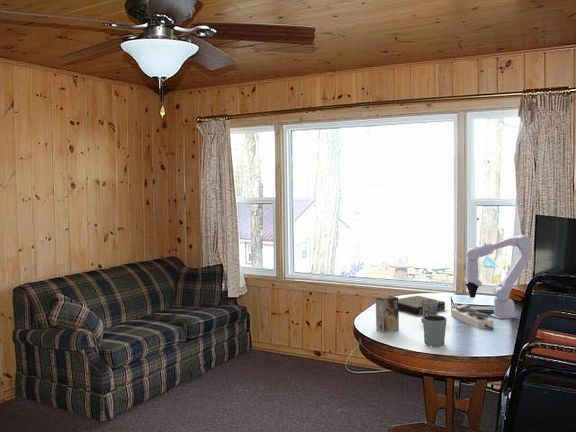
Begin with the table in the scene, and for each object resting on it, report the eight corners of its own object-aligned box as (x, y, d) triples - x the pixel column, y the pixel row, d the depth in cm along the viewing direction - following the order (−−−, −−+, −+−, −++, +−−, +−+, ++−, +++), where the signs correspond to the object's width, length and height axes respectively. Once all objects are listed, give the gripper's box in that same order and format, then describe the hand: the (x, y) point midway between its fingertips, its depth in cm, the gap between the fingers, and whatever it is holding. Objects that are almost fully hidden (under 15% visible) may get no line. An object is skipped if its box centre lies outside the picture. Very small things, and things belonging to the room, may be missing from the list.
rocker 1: (466, 306, 298) (465, 303, 298) (470, 307, 294) (469, 305, 294) (455, 309, 297) (455, 306, 296) (459, 311, 293) (459, 308, 292)
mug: (438, 324, 283) (437, 303, 282) (419, 323, 287) (418, 302, 286) (441, 318, 294) (441, 298, 293) (422, 317, 298) (422, 297, 297)
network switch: (421, 317, 299) (421, 307, 299) (387, 309, 318) (387, 300, 317) (448, 309, 314) (448, 300, 314) (414, 302, 332) (414, 294, 332)
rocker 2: (474, 312, 290) (475, 309, 290) (478, 314, 286) (479, 311, 286) (464, 309, 289) (465, 307, 289) (468, 311, 285) (469, 308, 285)
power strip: (465, 314, 301) (465, 307, 301) (499, 330, 271) (499, 322, 270) (451, 315, 300) (451, 308, 299) (484, 331, 269) (484, 323, 269)
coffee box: (391, 327, 281) (390, 295, 279) (399, 330, 275) (398, 297, 274) (375, 330, 276) (375, 297, 275) (383, 333, 271) (383, 299, 269)
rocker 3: (483, 315, 282) (483, 313, 282) (487, 317, 278) (488, 314, 278) (472, 314, 281) (473, 311, 281) (476, 316, 277) (477, 313, 277)
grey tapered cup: (431, 339, 259) (431, 313, 258) (451, 344, 251) (451, 317, 250) (418, 344, 252) (418, 317, 251) (437, 349, 245) (437, 322, 244)
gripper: (458, 269, 302) (458, 294, 303) (473, 274, 288) (473, 300, 289) (470, 268, 304) (470, 294, 305) (485, 273, 290) (485, 299, 291)
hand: (472, 297), depth 297 cm, fingers closed
